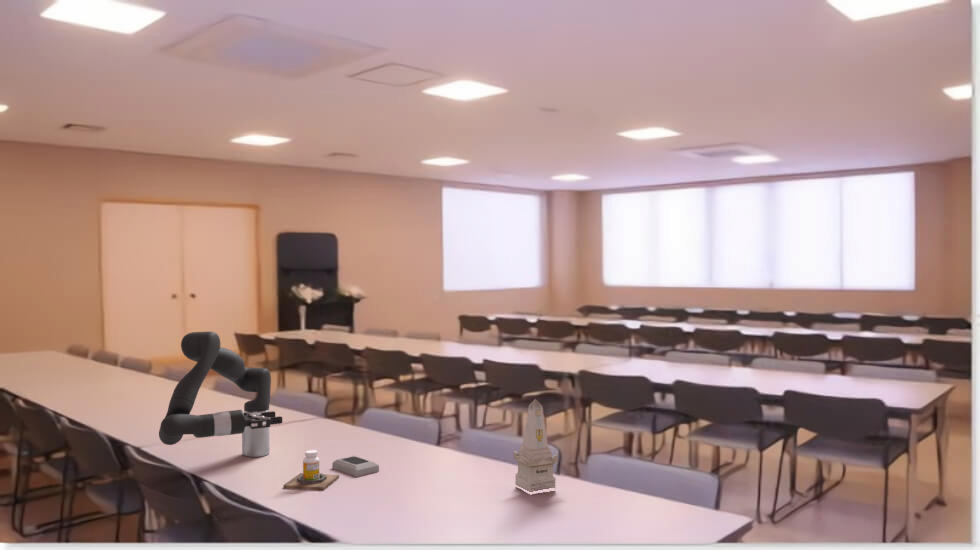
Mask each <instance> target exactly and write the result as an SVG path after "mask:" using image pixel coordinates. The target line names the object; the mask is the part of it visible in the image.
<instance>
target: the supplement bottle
mask: <svg viewBox="0 0 980 550" xmlns="http://www.w3.org/2000/svg"><path fill="white" fill-rule="evenodd" d="M304 456H305V457H304V458H303V459H302V473H303V480H317V479H320V473H321V472H320V470H321V469H320V463H321V462H320V461H321V460H320V457H318V450H316V449H309V450H306V451H305V452H304Z"/></svg>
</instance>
